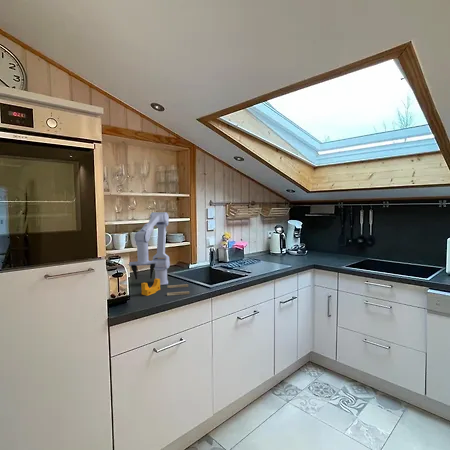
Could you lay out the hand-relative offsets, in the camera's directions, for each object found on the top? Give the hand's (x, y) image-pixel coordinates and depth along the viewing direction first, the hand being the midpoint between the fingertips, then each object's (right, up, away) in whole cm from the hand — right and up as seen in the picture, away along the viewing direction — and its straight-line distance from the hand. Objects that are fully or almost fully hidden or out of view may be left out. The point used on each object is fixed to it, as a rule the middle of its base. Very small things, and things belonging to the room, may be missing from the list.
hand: (143, 278), depth 163 cm
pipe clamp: (+3, -9, +6) cm, 11 cm away
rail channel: (+17, -8, +8) cm, 21 cm away
